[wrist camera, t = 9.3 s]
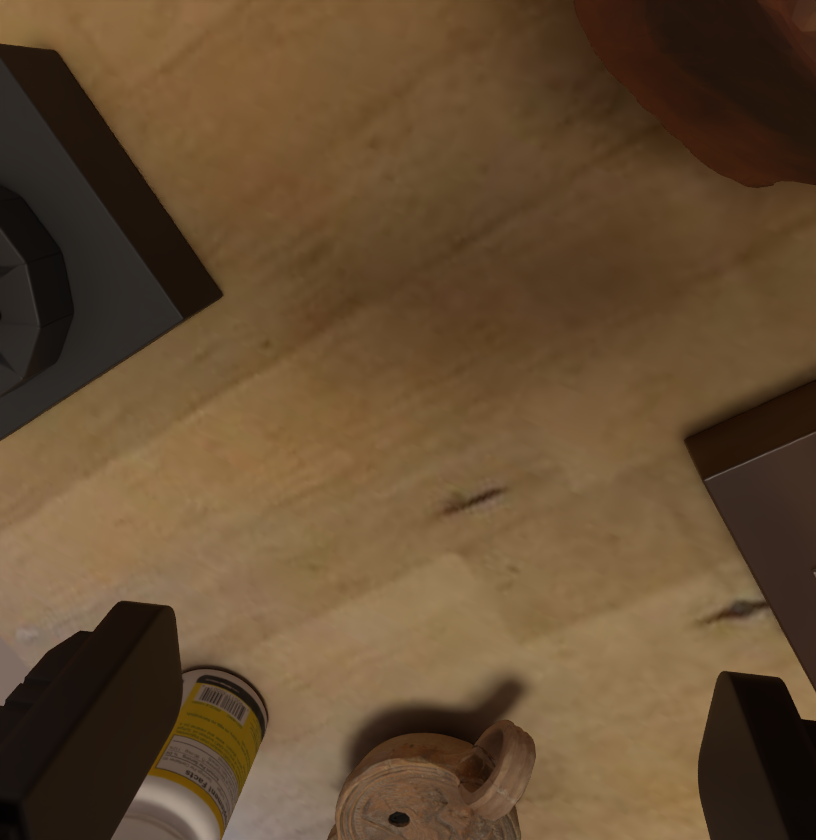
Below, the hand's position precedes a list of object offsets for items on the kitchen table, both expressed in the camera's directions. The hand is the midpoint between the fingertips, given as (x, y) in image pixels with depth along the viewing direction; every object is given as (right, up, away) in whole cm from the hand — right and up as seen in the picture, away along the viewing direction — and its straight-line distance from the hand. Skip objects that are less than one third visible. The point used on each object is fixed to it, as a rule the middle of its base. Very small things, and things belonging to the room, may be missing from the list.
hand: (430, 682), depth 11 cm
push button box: (-14, +9, +15) cm, 23 cm away
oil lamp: (+1, -11, +22) cm, 25 cm away
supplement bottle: (-9, -9, +22) cm, 25 cm away
